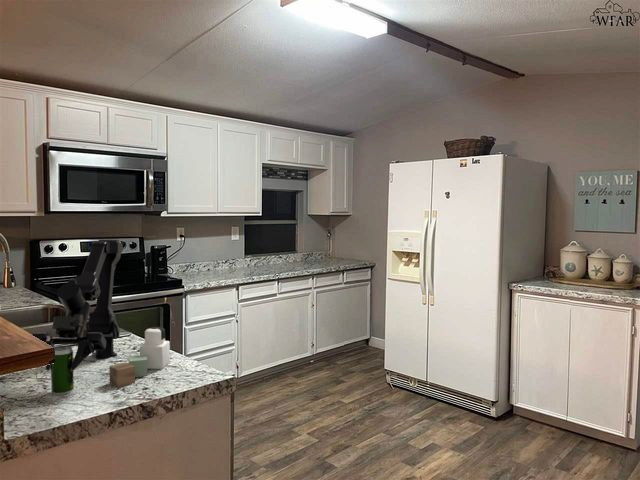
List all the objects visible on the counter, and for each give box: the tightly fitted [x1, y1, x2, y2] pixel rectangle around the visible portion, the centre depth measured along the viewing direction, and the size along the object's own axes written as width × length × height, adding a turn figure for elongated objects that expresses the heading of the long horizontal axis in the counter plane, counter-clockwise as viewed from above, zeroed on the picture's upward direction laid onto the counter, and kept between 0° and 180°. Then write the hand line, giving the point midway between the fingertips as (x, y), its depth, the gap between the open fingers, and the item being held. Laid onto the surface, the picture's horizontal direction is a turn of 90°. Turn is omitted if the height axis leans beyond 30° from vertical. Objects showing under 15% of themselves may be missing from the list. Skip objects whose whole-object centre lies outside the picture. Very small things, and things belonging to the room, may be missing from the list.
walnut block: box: [109, 361, 136, 388], centre depth 142 cm, size 5×5×5 cm
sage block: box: [128, 354, 148, 378], centre depth 150 cm, size 5×5×5 cm
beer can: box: [50, 345, 75, 396], centre depth 134 cm, size 5×5×12 cm
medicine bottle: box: [139, 326, 171, 370], centre depth 158 cm, size 7×7×12 cm
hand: (59, 369), depth 133 cm, fingers open, 6 cm apart
